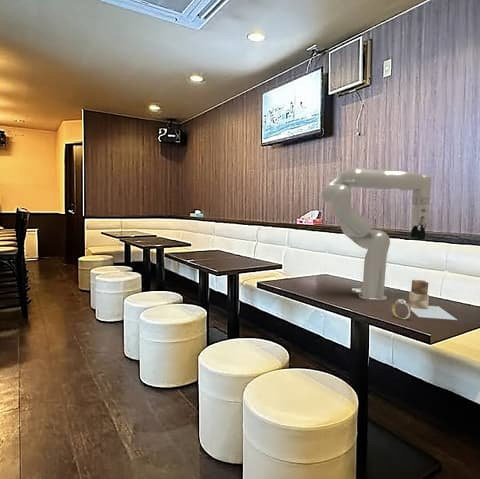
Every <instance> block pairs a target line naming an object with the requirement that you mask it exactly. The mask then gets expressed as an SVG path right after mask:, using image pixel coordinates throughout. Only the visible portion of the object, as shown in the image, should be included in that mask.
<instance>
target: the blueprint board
mask: <svg viewBox="0 0 480 479" xmlns="http://www.w3.org/2000/svg"><path fill="white" fill-rule="evenodd" d="M410 307H411V306H410ZM411 312H413V313H414V314H415V316H417V317H418V318H428V319H440V320H453V321H458V319H457V318H456V317H454V316H453V315H452V314H450V313H449V312H447V311H446V310H444V309H443V308H441V307H440V306H438V305H437V306H436V305H428V309H417V308H412V307H411Z"/></svg>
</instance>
